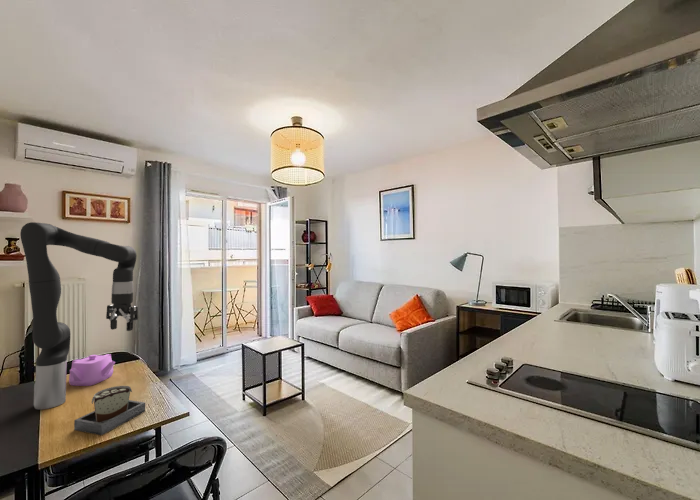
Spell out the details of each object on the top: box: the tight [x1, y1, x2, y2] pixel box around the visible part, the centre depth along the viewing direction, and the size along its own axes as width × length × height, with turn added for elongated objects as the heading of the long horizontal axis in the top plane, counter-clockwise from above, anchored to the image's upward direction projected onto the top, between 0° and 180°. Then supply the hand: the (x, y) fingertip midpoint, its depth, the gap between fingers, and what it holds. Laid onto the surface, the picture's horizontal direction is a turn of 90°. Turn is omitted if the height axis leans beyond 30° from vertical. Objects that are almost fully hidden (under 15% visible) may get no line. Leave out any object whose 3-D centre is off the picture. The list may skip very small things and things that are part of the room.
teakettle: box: [68, 353, 116, 387], centre depth 152 cm, size 17×17×12 cm
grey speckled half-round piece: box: [91, 385, 133, 423], centre depth 117 cm, size 12×6×10 cm, turn 144°
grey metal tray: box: [73, 399, 146, 436], centre depth 116 cm, size 12×17×4 cm
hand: (121, 329), depth 132 cm, fingers open, 8 cm apart
